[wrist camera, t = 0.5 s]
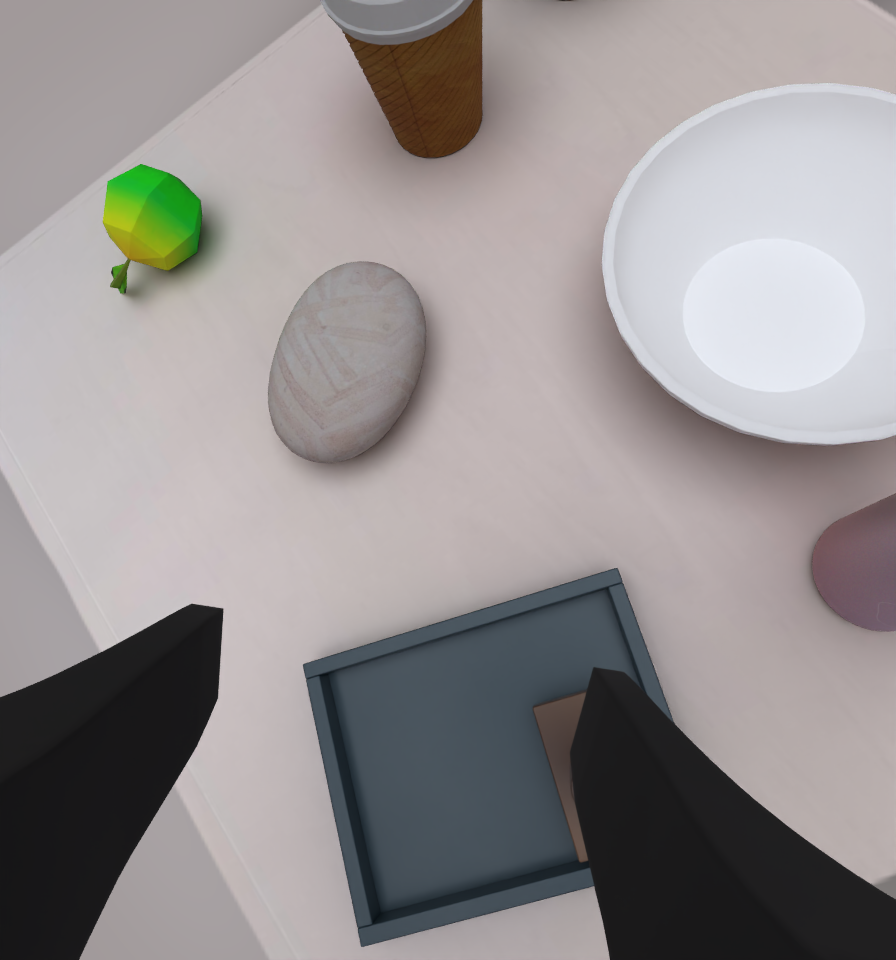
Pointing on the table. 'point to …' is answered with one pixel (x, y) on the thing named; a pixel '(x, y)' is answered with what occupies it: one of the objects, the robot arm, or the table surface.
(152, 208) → the apple
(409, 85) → the disposable coffee cup
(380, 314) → the decorative stone
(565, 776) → the wooden stamp
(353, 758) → the tray
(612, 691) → the robot arm
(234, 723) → the table surface
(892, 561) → the beverage can
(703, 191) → the bowl
